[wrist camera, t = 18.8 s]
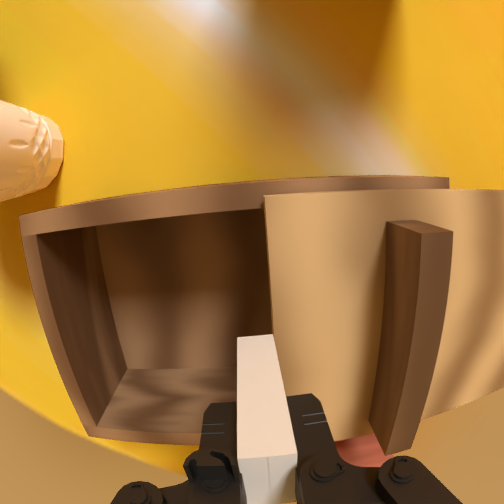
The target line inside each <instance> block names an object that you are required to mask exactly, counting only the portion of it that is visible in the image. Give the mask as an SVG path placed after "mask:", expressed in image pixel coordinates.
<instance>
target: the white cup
mask: <svg viewBox="0 0 504 504" xmlns="http://www.w3.org/2000/svg"><path fill="white" fill-rule="evenodd" d="M63 153H64V140H63V137H62V134H61V131H60V128H59V126H58V125H57V124H56V123H54V122H53V121H52V120H51V119H50V118H48V117H46V116H42V115H39V114H36V113H35V112H33V111H31V110H28V109H25V108H22V107H20V106H17V105H15V104H12V103H8V102H5V101H2V100H0V202H2V201H6V200H9V199H13V198H16V197H20V196H23V195H25V194H29V193H34V192H36V191H39V190H41V189H44V188H46V187H47V186H48V185H49V184H50V183H51V182H52V180H53V179H54V178H55V177H56V176H57V174H58V171H59V169H60V166H61V163H62V161H63Z"/></svg>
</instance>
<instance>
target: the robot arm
mask: <svg viewBox="0 0 504 504" xmlns="http://www.w3.org/2000/svg"><path fill="white" fill-rule="evenodd" d="M183 467H184V470H185V472H186V474H187V477H188V480H187V481H185V482H183V483H181V484H178V485H175V486H170V487H164V488H159V489H158V488H157V487H156V486H155V485H153V484H151V483H149V482H142V481H137V482H131V483H129V484H127V485H125V486H123V487H122V488H121V489H120V490H119V491H118V493H117V494H116V496H115V497H114V499H113V500H112V502H111V504H282V503H290V502H296V501H297V504H462V503H461V502H460V501H459V500H458V499H457V498H456V497H455V496H454V495H453V494H452V493H451V492H450V491H449V490H448V489H447V488H446V487H445V486H444V485H443V484H442V483H441V482H440V481H439V480H438V479H437V478H436V477H435V476H434V475H433V474H432V473H431V472H430V471H429V470H428V469H427V468H426V467H425V466H424V465H423V464H422V463H421V462H420V461H418V460H417V459H415V458H412V457H409V456H396V457H393V458H390V459H388V460H387V461H386V462H384V463H383V464H382V466H381V467H360V466H355V465H352V464H349V463H347V462H346V461H344V460H343V459H342V458H341V457H340V455H339V453H338V451H337V448H336V445H335V442H334V439H333V436H332V433H331V430H330V428H329V425H328V422H327V419H326V416H325V414H324V410H323V407H322V404H321V401H320V400H319V399H318V398H317V397H315V396H314V395H313V394H312V393H308V394H301V395H293V396H286V395H285V390H284V385H283V380H282V376H281V371H280V366H279V361H278V356H277V351H276V347H275V342H274V337H273V334H269V335H259V336H247V337H237V402H223V403H210V405H209V406H208V408H207V409H206V410H205V412H204V414H203V422H202V430H201V438H200V447H199V450H198V451H195V452H193V453H192V454H191V455H189V456H188V457H187V458H186V460H185V462H184V464H183Z"/></svg>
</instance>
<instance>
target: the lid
mask: <svg viewBox="0 0 504 504" xmlns="http://www.w3.org/2000/svg"><path fill="white" fill-rule="evenodd" d="M263 201H264V214H265V228H266V242H267V256H268V271H269V286H270V301H271V317H272V333H273V337H274V342H275V347H276V351H277V356H278V361H279V366H280V371H281V376H282V380H283V385H284V390H285V395H286V396H293V395H301V394H308V393H312V394H313V395H314V396H315V397H317V398H318V399H319V400H320V401H321V404H322V407H323V410H324V414H325V416H326V419H327V422H328V425H329V428H330V430H331V433H332V436H333V439H334V441H339V440H345V439H350V438H354V437H359V436H363V435H368V434H372V433H374V434H375V436H376V438H377V440H378V442H379V444H380V446H381V448H382V451H383V453H384V455H385V456H387V455H391V454H394V453H398V452H401V451H404V450H407V449H410V448H411V446H412V443H413V440H414V437H415V435H416V432H417V429H418V425H419V423H420V420H422V419H425V418H428V417H431V416H434V415H437V414H440V413H443V412H446V411H448V410H451V409H454V408H456V407H459V406H461V405H464V404H467V403H469V402H471V401H474V400H476V399H479V398H481V397H483V396H485V395H488V394H490V393H492V392H494V391H496V390H498V389H501V388H503V387H504V190H485V189H381V190H350V191H327V192H308V193H291V194H276V195H263Z"/></svg>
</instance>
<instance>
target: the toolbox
mask: <svg viewBox="0 0 504 504" xmlns="http://www.w3.org/2000/svg"><path fill="white" fill-rule="evenodd" d="M381 189H449V178H446V177H426V176H396V175H364V176H329V177H306V178H288V179H272V180H258V181H245V182H233V183H222V184H212V185H202V186H193V187H184V188H175V189H167V190H159V191H151V192H144V193H136V194H129V195H123V196H116V197H109V198H103V199H97V200H91V201H85V202H80V203H75V204H70V205H65V206H60V207H56V208H51V209H46V210H42V211H37V212H33V213H29V214H24V215H20V216H19V224H20V230H21V236H22V242H23V248H24V253H25V258H26V263H27V268H28V272H29V277H30V281H31V285H32V289H33V293H34V297H35V301H36V304H37V308H38V312H39V315H40V318H41V322H42V325H43V328H44V331H45V334H46V337H47V340H48V343H49V346H50V349H51V352H52V355H53V357H54V360H55V363H56V365H57V368H58V370H59V373H60V376H61V378H62V380H63V383H64V385H65V388H66V390H67V392H68V395H69V397H70V399H71V401H72V403H73V406H74V408H75V410H76V412H77V414H78V416H79V418H80V420H81V422H82V424H83V426H84V428H85V430H86V432H87V434H88V436H90V437H97V438H104V439H112V440H120V441H129V442H140V443H154V444H174V445H200V438H201V430H202V422H203V414H204V412H205V410H206V409H207V408H208V406H209V405H210V403H223V402H237V337H247V336H259V335H269V334H273V333H272V317H271V301H270V286H269V271H268V256H267V242H266V228H265V214H264V201H263V195H276V194H291V193H308V192H327V191H350V190H381Z"/></svg>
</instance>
